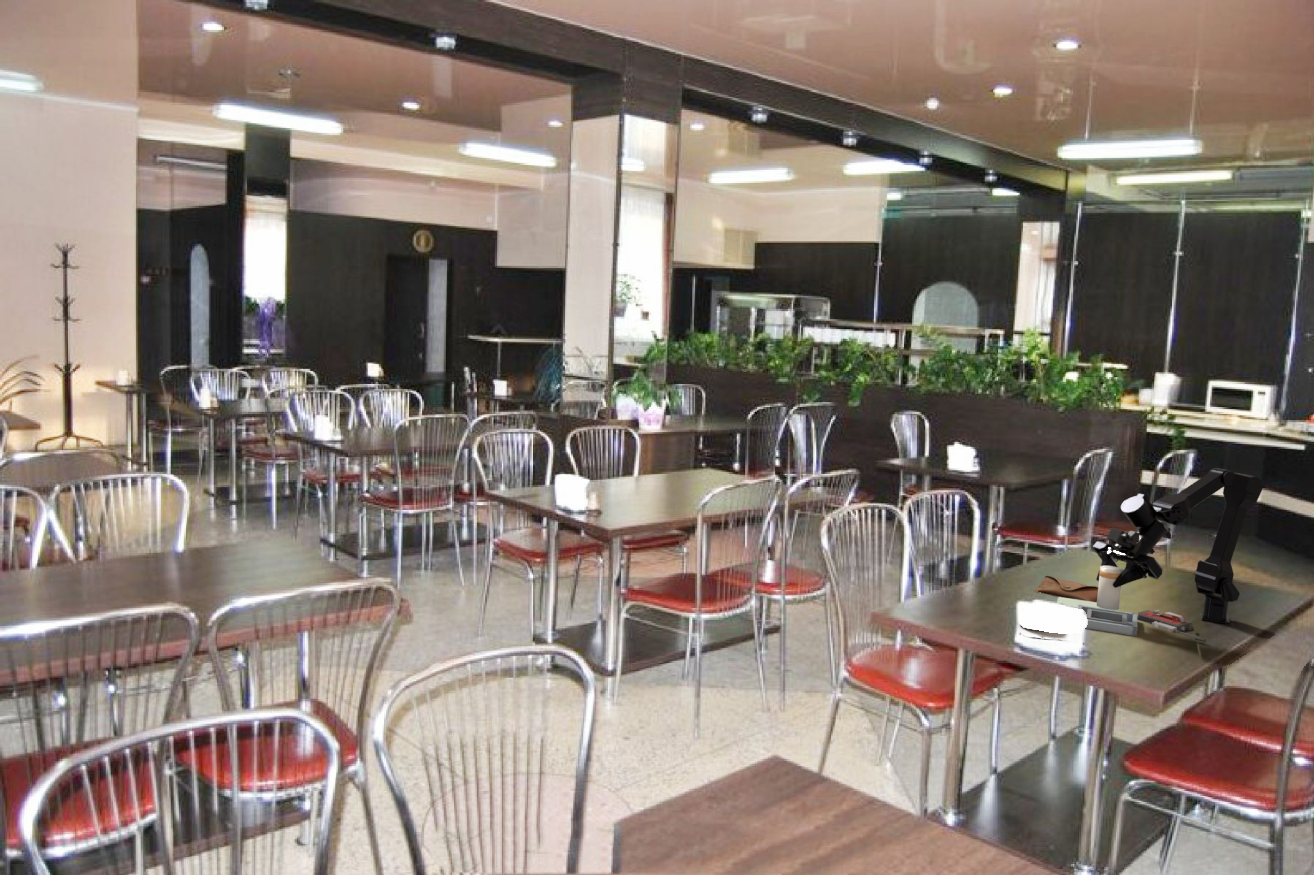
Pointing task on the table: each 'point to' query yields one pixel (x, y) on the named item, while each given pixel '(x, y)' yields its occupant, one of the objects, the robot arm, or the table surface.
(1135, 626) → the grey square tray
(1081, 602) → the mat
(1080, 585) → the sunglasses case
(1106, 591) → the white banded cylinder
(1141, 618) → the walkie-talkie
